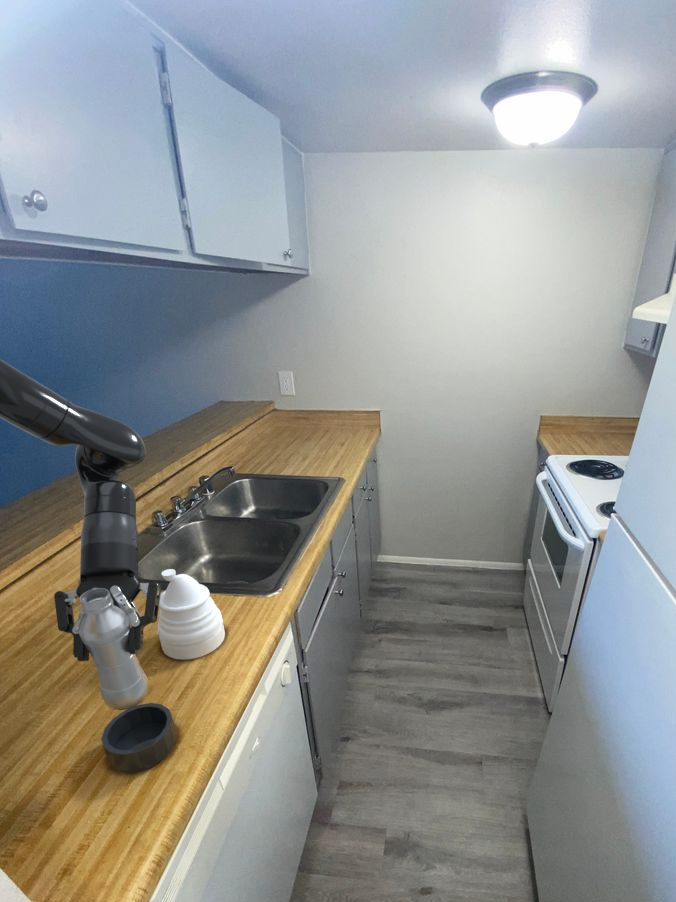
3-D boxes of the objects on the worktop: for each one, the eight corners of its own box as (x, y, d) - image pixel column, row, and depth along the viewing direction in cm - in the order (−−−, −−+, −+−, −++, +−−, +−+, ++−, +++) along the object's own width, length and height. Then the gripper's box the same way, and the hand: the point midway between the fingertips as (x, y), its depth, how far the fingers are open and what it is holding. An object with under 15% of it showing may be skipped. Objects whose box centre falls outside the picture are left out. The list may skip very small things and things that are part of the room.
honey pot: (167, 667, 96) (148, 594, 87) (157, 632, 105) (139, 563, 97) (232, 646, 102) (219, 576, 94) (216, 615, 112) (204, 548, 103)
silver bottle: (108, 722, 71) (69, 615, 61) (102, 694, 75) (64, 590, 66) (155, 704, 74) (124, 600, 65) (147, 678, 79) (117, 577, 69)
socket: (101, 779, 74) (93, 760, 72) (117, 727, 83) (111, 709, 81) (171, 765, 77) (166, 746, 74) (180, 716, 85) (176, 698, 83)
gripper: (44, 544, 68) (38, 664, 63) (154, 535, 71) (156, 648, 67) (68, 558, 75) (64, 666, 70) (167, 549, 78) (169, 651, 74)
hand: (109, 656), depth 68 cm, fingers closed on silver bottle, 6 cm apart
